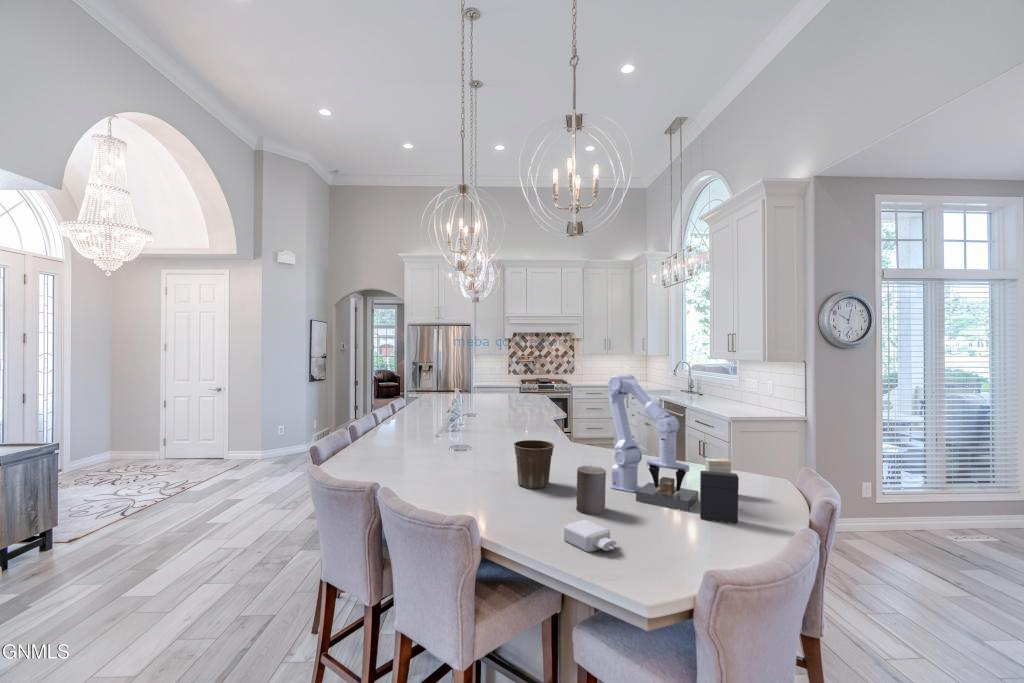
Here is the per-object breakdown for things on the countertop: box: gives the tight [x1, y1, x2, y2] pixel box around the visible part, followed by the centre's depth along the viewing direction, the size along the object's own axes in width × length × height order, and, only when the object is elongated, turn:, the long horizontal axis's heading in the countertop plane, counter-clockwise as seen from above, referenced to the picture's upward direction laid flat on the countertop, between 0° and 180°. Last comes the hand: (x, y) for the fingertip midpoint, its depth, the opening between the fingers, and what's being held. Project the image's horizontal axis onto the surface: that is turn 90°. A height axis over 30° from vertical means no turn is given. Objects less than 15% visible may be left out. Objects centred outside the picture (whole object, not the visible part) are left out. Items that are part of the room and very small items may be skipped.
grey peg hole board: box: [635, 482, 699, 512], centre depth 170 cm, size 18×14×4 cm
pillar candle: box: [575, 465, 607, 516], centre depth 160 cm, size 10×10×15 cm
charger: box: [563, 519, 619, 553], centre depth 131 cm, size 5×9×15 cm
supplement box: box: [704, 457, 732, 473], centre depth 180 cm, size 8×5×13 cm, turn 84°
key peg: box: [659, 476, 676, 494], centre depth 170 cm, size 4×4×8 cm
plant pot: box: [513, 439, 555, 490], centre depth 189 cm, size 16×16×16 cm
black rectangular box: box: [699, 470, 740, 524], centre depth 152 cm, size 11×4×15 cm, turn 71°
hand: (667, 488), depth 171 cm, fingers open, 7 cm apart
